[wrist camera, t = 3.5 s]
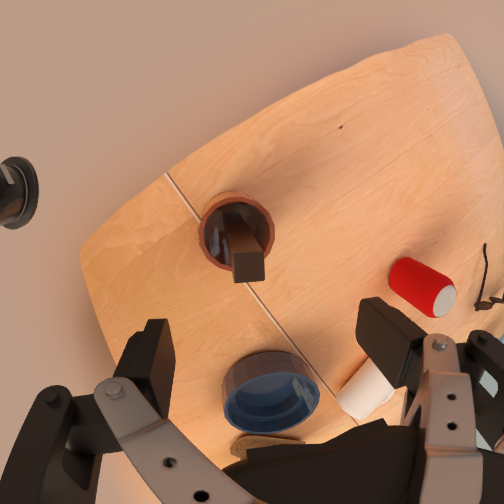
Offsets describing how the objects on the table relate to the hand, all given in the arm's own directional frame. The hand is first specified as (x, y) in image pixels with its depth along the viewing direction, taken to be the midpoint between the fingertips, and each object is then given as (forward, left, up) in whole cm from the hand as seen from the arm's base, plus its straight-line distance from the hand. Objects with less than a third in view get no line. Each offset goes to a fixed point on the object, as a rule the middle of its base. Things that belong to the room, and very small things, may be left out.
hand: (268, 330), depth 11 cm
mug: (+24, -32, -26) cm, 48 cm away
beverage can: (+27, -10, -26) cm, 39 cm away
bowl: (+4, -28, -26) cm, 38 cm away
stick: (0, 0, -25) cm, 25 cm away
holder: (0, 0, -26) cm, 26 cm away
